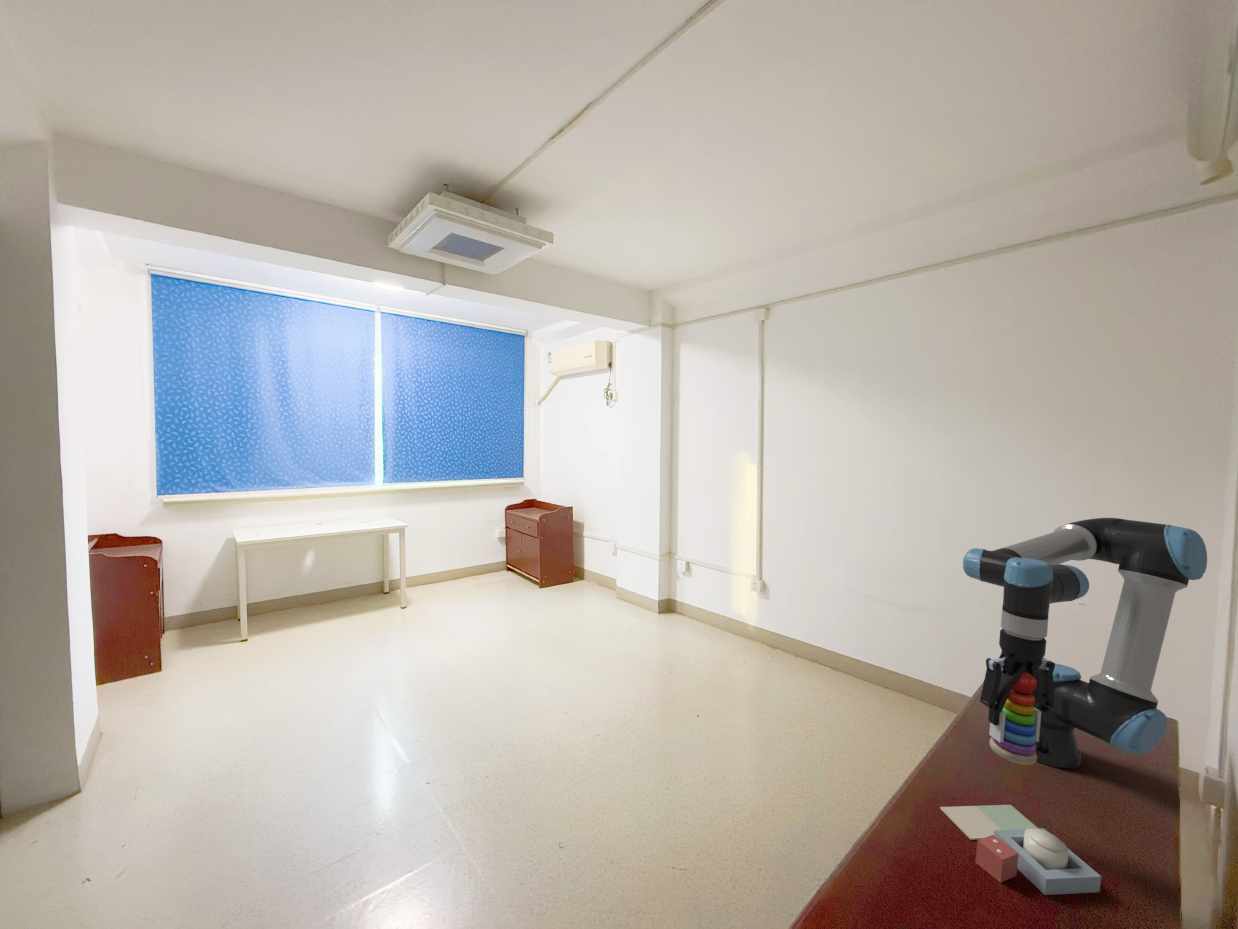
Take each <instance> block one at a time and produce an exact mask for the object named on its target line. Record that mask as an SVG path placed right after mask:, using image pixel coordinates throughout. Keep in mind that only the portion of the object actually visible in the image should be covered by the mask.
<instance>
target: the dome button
mask: <svg viewBox="0 0 1238 929" xmlns="http://www.w3.org/2000/svg"><path fill="white" fill-rule="evenodd" d="M1023 849H1024V850H1025V851H1026V852H1027V853H1028V854H1029V855H1030V856H1031V857H1032V858H1033V859H1035V860H1036V861H1037V862H1038V863H1039V864H1040V865H1041V866H1042V867H1043V868H1044V869H1045V870H1056V869H1067V863H1068V853H1069V851H1068V849H1069V848H1068V847H1067V845H1066V844H1065V843H1064V842H1063V841H1062V840H1061V839H1059V838H1058V837H1057V836H1055V835H1054V834H1053V833H1051V832H1049V831H1048V832H1046V831H1044V830H1040V829H1033V828H1030V829H1026V830H1025V833H1024V843H1023Z"/></svg>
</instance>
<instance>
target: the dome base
mask: <svg viewBox="0 0 1238 929" xmlns="http://www.w3.org/2000/svg"><path fill="white" fill-rule="evenodd" d="M1037 828H1038V829H1040V830H1044V831H1046V832H1049V831H1048V830H1047V829H1045V828H1043V827H1042V828H1041V827H1040V828H1039V827H1037ZM1025 830H1026V829H1012V830H994V836H996V837H997V838H999V839H1000V840H1001V841H1003V842H1004V843H1005V844H1007V845H1008V846H1009V847H1011V848H1012V849H1014V850H1015V851H1016V852H1018V853H1019V855H1018V865H1017V870H1018V871H1020V873H1022V875H1023V876H1024V877H1026V878H1027V879H1028V880H1029V881H1030V883H1031V884H1033V886H1035V888H1037V889H1038V890H1039V891H1040V892H1041V893H1042V894H1043V895H1044V896H1050V895H1052V896H1053V895H1054V896H1055V895H1069V894H1073V895H1074V894H1087V893H1091V894H1092V893H1100V892H1101V884H1102V883H1101V882H1102V876H1101V875H1100V874H1099V873H1098V872H1097V871H1095V870H1094V869H1093V868H1092V867H1091V866H1090V865H1088V864H1087V863H1086V862H1085V861H1083V860H1082V859H1081V858H1080V857H1079V856H1077V854H1075V853H1074V852H1073V851H1072V850H1071V849H1069V848H1068V851H1069V853H1068V863H1067V869H1056V870H1045V869H1044V868H1043V867H1042V866H1041V865H1040V864H1039V863H1038V862H1037V861H1036V860H1035V859H1033V858H1032V857H1031V856H1030V855H1029V854H1028V853H1027V852H1026V851H1025V850H1024V849H1023V843H1024V833H1025Z"/></svg>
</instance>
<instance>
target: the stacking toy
mask: <svg viewBox="0 0 1238 929" xmlns="http://www.w3.org/2000/svg"><path fill="white" fill-rule="evenodd" d="M1007 675H1009V674H1008V673H1007ZM1009 676H1010V677H1012V676H1011V675H1009ZM1036 687H1037V681H1036V679H1035V678H1034V677H1033V676H1032V675H1031V673H1028V672H1025V673H1022V674H1021V676H1020V679H1019V681H1018V683H1015V684H1014V686H1013V688H1012V690H1011V692H1010V694H1009V696H1008V699H1007V701H1006V703H1005V705H1004V707H1003V709H1002V710H1003V711H1004V712H1006V717H1005V728H1004V740H1003V743H1000V742H998V741H997V740H996V739H994V738H993V737H992V736H991V738H989V741H988V743H989V747H990V748H991V750H992V752H994V753H996V754H997V755H998V756H1000V757H1001V758H1003V759H1004V760H1005V759H1006V760H1007V761H1010V762H1012V763H1016V764H1019V765H1023V766H1024V765H1025V766H1027V765H1028V766H1029V765H1034V764H1035V763H1036V762H1038V761H1037V755H1036V753H1035V751H1036V745H1035V742H1036V740H1037V738H1036V735H1035V731H1036V727H1035V725H1034V723H1035V721H1036V718H1035V716H1034V714H1033V713H1034V711H1035V709H1034V706H1033V705H1032V704H1034V702H1035V698H1034V696H1033V695H1032V694H1031V693H1032V692H1033V691H1034V690H1035V689H1036Z"/></svg>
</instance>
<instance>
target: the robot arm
mask: <svg viewBox="0 0 1238 929" xmlns="http://www.w3.org/2000/svg"><path fill="white" fill-rule="evenodd" d="M1086 560H1094V561H1102V562H1106V563H1110V564H1115V565H1118V569H1117V572H1118V574H1120V576H1121V577H1122V578H1123V583H1122V588H1121V591H1120V592H1121V593H1120V596H1119V600H1118V604H1117V608H1116V611H1115V615H1114V620H1113V622H1112V627H1111V631H1110V635H1109V638H1108V642H1107V647H1106V650H1105V654H1104V658H1103V661H1102V662H1103V663H1102V665H1101V668H1100V669H1101V670H1100V672H1099V673H1098V674H1095V675H1092V676H1090V678H1089V681H1088V682H1087V681H1084V680H1082V676H1081V673H1080V671H1078V670H1077V669H1075V668H1073V667H1071V666H1067V665H1064V664H1059V663H1056V662H1053V661H1052V660H1049V659H1047V658H1045V657H1046V651H1047V650H1046V648H1047V647H1046V646H1047V640H1046V637H1048V630H1049V629H1048V628H1049V615H1050V614H1049V613H1050V605H1051V604H1055V603H1064V602H1073V601H1075V600H1077V599H1081V598H1083V597H1084V596H1086V594H1088V591H1089V589H1090V581H1089V578H1088V577H1087V575H1086V574H1085V572H1083V571H1082V570H1081V569H1080V568H1078V567H1076V566H1074V565H1069V564H1063V563H1067V562H1069V561H1077V562H1078V561H1081V562H1082V561H1086ZM1207 567H1208V552H1207V547H1206V544H1205V542H1204V539H1203V538H1202V536H1201V534H1199V533H1198V532H1197V531H1195V529H1191V528H1188V527H1181V526H1177V525H1172V524H1164V523H1157V522H1156V523H1155V522H1148V521H1139V520H1131V519H1124V518H1118V517H1098V518H1089V519H1082V520H1078V521H1077V520H1076V521H1073V522H1069V523H1066V524H1063V525H1060V526H1058V527H1056V528H1055V529H1054V531H1053V532H1050V533H1046V534H1043V535H1041V536H1037V537H1034V538H1030V539H1027V540H1024V541H1020V542H1018V543H1014V544H1012V545H1008V546H1005V547H1002V548H999V549H994V550H989V549H988V550H987V549H985V548H976V547H974V548H970V549H969V550H968V551H966V553H965V555H964V556H963V559H962V569H963V572H964V574H965V575H966V576H967V577H970V578H971V579H974V580H975V579H976V580H977V581H979V582H982V583H983V582H984V583H987V584H991V585H995V586H998V587H1002V588H1003V596H1002V598H1003V599H1002V609H1001V620H1000V628H1001V629H1000V630H999V639H998V641H999V642H998V644H999V648H1000V649H1001V653H1000V655H998V656H999V657H998V658H995V659H992V658H991V657H988V658H986V659H985V666H986V670H985V674H984V675H985V676H984V680H983V684H982V689H981V693H980V698H979V701H980V703H981V704H982V705H984V706H986V707H987V708H988V716H987V720H988V722H989V730H988V731H989V733H988V734H989V736H991V738H992V737H993V738H994V739H996V740H997V741H998V742H1000V743H1003V740H1004V728H1005V717H1006V712H1004V711H1003V710H1002V709H1003V707H1004V705H1005V703H1006V701H1007V699H1008V696H1009V694H1010V692H1011V690H1012V688H1013V686H1014V684H1015V683H1018V681H1019V679H1020V676H1021V674H1022V673H1025V672H1028V673H1031V675H1032V676H1033V677H1034V678H1035V679H1036V681H1037V687H1036V689H1035V690H1034V691H1033V692H1032V693H1031V694H1032V695H1033V696H1034V698H1035V702H1034V704H1032V705H1033V706H1034V709H1035V711H1034V713H1033V714H1034V716H1035V718H1036V721H1035V723H1034V725H1035V727H1036V731H1035V735H1036V738H1037V740H1036V742H1035V745H1036V751H1035V753H1036V755H1037V761H1036V762H1038V763H1040V764H1044V765H1047V766H1051V767H1055V768H1060V769H1066V768H1072V769H1077V768H1080V766H1081V763H1082V753H1081V750H1080V748H1079V744H1078V739H1077V736H1076V731H1075V729H1077V730H1078V731H1081V732H1084V733H1085V734H1088V735H1090V736H1093V737H1095V738H1097V739H1099V740H1101V741H1103V742H1105V743H1108V744H1109V745H1111V747H1114V748H1118V749H1121V750H1122V751H1125V752H1127V753H1130V754H1133V755H1136V756H1137V755H1138V756H1139V755H1141V756H1142V755H1145V754H1148V753H1149V752H1151V751H1153V749H1154V748H1156V747H1157V745H1158V744H1159V743H1160V742H1161V740H1162V738H1163V737H1164V733H1165V732H1166V729H1167V724H1168V723H1167V720H1168V719H1167V716H1166V714H1165V713H1164V712H1163V711H1162V710H1161V709H1158V704H1159V700H1158V699H1157V697H1156V696H1155V694H1154V693H1153V692H1152V688H1153V683H1154V680H1155V679H1154V678H1155V675H1156V671H1157V667H1158V663H1159V659H1160V655H1161V651H1162V647H1163V645H1164V644H1163V643H1164V640H1165V635H1166V631H1167V628H1168V623H1169V620H1170V616H1171V612H1172V608H1173V605H1174V604H1173V603H1174V600H1175V596H1176V593H1177V592H1178V591H1180V590H1184V589H1185V588H1187V587H1188V585H1189V581H1190V580H1191V581H1197V580H1200V579H1201V578H1203V576H1204V574H1205V573H1206V570H1207ZM1007 673H1008V674H1009V675H1011V676H1012V677H1010V676H1009V675H1007Z"/></svg>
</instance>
